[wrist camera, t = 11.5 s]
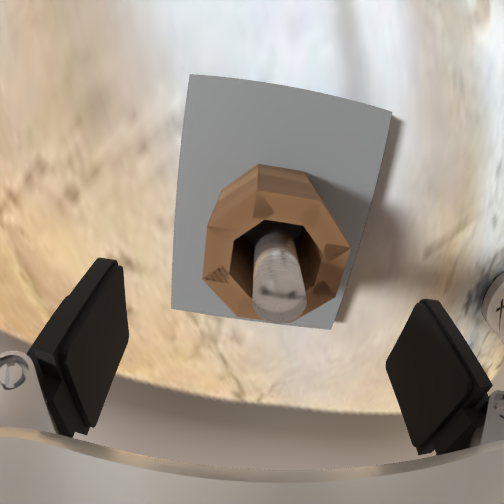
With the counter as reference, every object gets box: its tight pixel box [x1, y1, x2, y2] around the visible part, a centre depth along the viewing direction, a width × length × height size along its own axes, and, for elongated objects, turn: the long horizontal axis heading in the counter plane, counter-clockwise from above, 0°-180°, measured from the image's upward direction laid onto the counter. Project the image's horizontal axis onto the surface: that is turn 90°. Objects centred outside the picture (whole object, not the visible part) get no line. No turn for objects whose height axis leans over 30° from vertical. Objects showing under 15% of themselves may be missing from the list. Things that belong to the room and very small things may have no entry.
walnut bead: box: [202, 164, 351, 324], centre depth 17 cm, size 6×6×6 cm
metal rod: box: [252, 220, 307, 324], centre depth 16 cm, size 2×2×9 cm
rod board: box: [171, 74, 392, 330], centre depth 21 cm, size 16×12×2 cm
